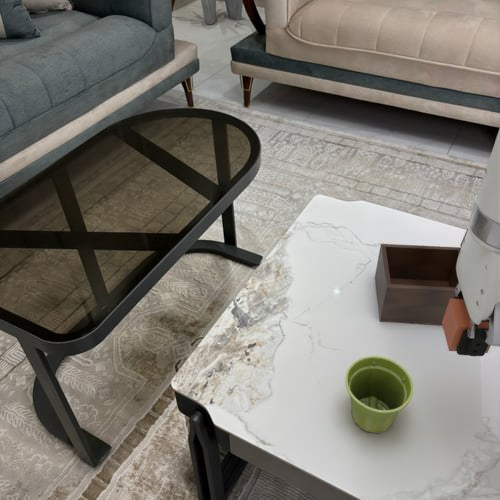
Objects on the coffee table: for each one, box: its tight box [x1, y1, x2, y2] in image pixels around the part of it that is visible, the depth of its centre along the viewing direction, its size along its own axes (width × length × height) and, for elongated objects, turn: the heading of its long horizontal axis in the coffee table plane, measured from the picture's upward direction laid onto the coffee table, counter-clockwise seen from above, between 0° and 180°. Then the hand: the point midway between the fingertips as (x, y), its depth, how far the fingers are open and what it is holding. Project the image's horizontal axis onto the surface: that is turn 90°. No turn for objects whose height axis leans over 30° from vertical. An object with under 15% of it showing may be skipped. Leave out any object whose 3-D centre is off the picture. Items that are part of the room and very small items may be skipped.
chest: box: [374, 243, 461, 326], centre depth 91 cm, size 15×12×9 cm
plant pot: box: [344, 355, 414, 434], centre depth 74 cm, size 9×9×9 cm
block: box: [441, 298, 491, 354], centre depth 62 cm, size 5×5×5 cm
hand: (464, 335), depth 63 cm, fingers closed on block, 4 cm apart
